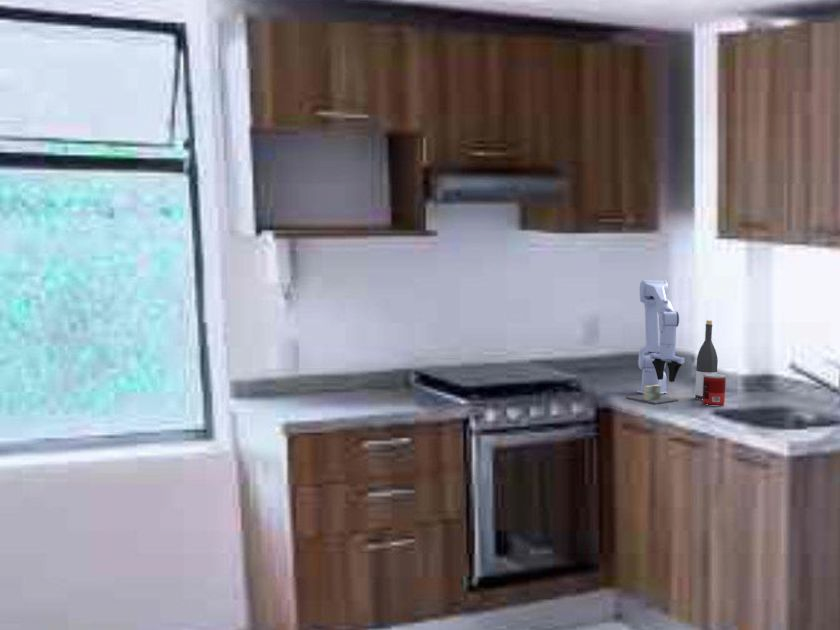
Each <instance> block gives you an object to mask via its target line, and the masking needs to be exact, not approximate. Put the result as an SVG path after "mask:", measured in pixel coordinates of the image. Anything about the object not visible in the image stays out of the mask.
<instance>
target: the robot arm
mask: <svg viewBox="0 0 840 630" xmlns="http://www.w3.org/2000/svg"><path fill="white" fill-rule="evenodd" d="M668 292H669V284H668V281H667V280H666V279H665V280H649V279H647V280H645V279H642V280H641V281H640V284H639V300H640V302H641V303H643V304H644V319H645V321H644V322H645V346H643V347H641V348H640V350H639V351H638V359H637V364H638V368H639V369H640V370H641V371H642V372H641V390H636V393H639V394H642V395H644V386H649V385H661V392H660V395H664V393H665V394H668V391H667V375H666V372H665V371H664V370H665V368H666V367H668V381H669V382H670V383H672V382H673V383H674V382H675V380H676V377H677V374H678V372H679V370H680V368H681V367H682V364H685V359H686V358H685V357H681V356H676V344H677V328H678V327H679V323H680V315H679V312H678V311H677V310H674V308H673V305H672V303H671V301H670V300H669V299H667V295H668ZM658 326H659V327H658ZM659 332H660V334H659ZM666 365H667V366H666Z"/></svg>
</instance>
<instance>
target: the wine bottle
mask: <svg viewBox="0 0 840 630" xmlns="http://www.w3.org/2000/svg"><path fill="white" fill-rule="evenodd" d="M705 323H706V324H705V330H704V331H705V333H704V334H705V335H704V336H705V337H704V341H703V343H702V345H701V346H700V348H699V350H698V353H697V357H696V372H695V374H696V375H695V389H694V390H695V394H694V395H695V396H694V397H695V399H696V398H698V399H703V381H704V374H708V373H714V374H718V361H719V360H718V355H717V351H716V348H715V346H714V343H713V341H712V338H713V337H712V333H713V321H712V320H711V319H709V320H708V319H706V321H705ZM698 399H697V400H698Z"/></svg>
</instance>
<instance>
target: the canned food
mask: <svg viewBox="0 0 840 630" xmlns="http://www.w3.org/2000/svg"><path fill="white" fill-rule="evenodd" d="M726 381H727V376H726V375H725V374H722V373H717V374H714V373H708V374H704V381H703V400H702V404H703V403H704V404H708V405H723V406H724V405H725V402H726V401H725V398H726V385H727V384H726ZM704 404H703V405H704ZM708 405H707V406H708Z"/></svg>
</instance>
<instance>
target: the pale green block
mask: <svg viewBox="0 0 840 630" xmlns="http://www.w3.org/2000/svg"><path fill="white" fill-rule="evenodd" d="M660 392H661V385H649V386H644V394H643V395H644V400H653V399H660V396H661V394H660Z"/></svg>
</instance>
